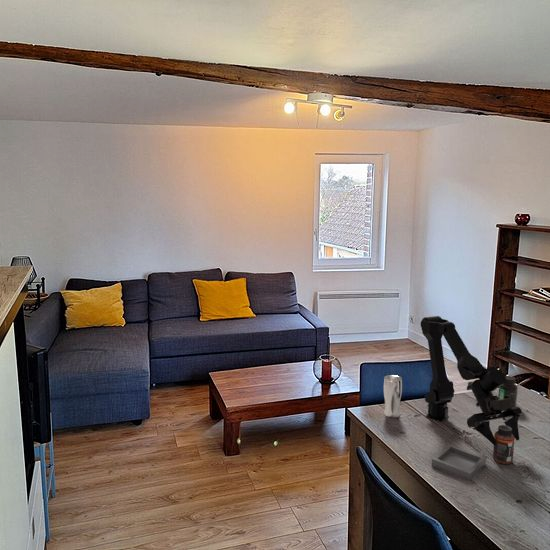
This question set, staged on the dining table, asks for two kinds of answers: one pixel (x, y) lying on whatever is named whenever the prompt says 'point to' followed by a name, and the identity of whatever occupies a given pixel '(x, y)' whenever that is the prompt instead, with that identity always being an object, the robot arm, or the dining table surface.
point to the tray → (459, 462)
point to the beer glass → (392, 395)
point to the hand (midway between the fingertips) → (507, 442)
